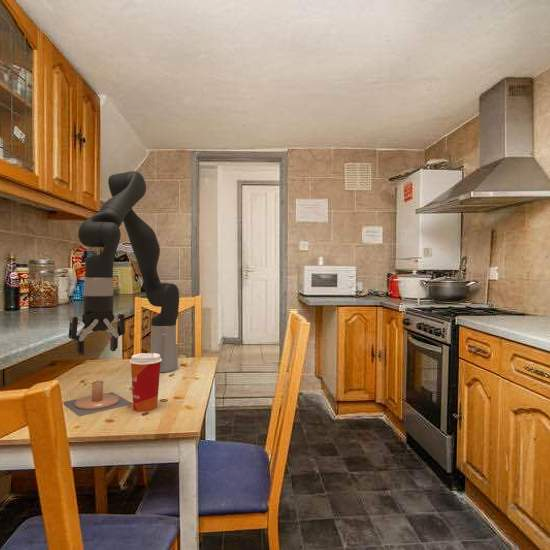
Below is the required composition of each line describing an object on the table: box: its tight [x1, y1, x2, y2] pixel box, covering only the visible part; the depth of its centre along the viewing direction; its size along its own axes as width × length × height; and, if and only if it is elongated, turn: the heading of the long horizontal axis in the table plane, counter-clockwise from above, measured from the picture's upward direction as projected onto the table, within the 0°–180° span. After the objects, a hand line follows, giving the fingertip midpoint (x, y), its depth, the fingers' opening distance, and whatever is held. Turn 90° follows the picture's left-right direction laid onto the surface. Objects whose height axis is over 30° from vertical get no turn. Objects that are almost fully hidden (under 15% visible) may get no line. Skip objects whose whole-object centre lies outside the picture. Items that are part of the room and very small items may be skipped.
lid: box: [75, 380, 119, 410], centre depth 108 cm, size 11×11×6 cm
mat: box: [63, 391, 133, 417], centre depth 108 cm, size 14×14×1 cm
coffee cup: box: [129, 352, 162, 413], centre depth 105 cm, size 8×8×15 cm
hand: (97, 352), depth 108 cm, fingers open, 8 cm apart
